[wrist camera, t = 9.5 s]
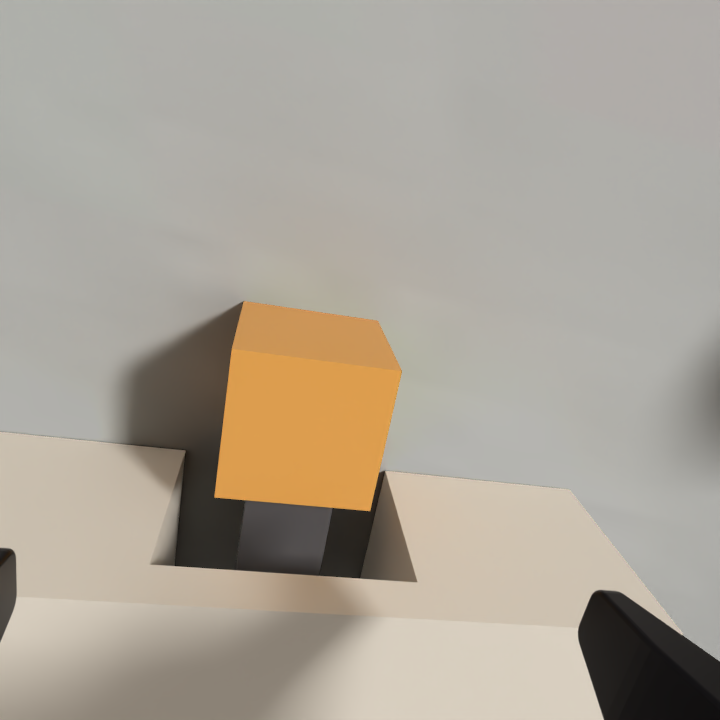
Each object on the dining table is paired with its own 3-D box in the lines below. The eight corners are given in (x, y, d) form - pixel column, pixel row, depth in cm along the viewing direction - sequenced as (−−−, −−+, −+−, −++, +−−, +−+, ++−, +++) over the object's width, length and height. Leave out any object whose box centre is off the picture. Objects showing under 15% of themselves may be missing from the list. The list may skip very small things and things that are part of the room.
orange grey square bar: (303, 683, 23) (306, 791, 19) (197, 680, 22) (179, 791, 18) (377, 320, 18) (401, 371, 14) (243, 301, 17) (231, 348, 13)
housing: (529, 599, 22) (616, 768, 16) (-42, 563, 19) (-193, 761, 13) (569, 489, 21) (682, 634, 15) (-51, 426, 17) (-229, 583, 11)
